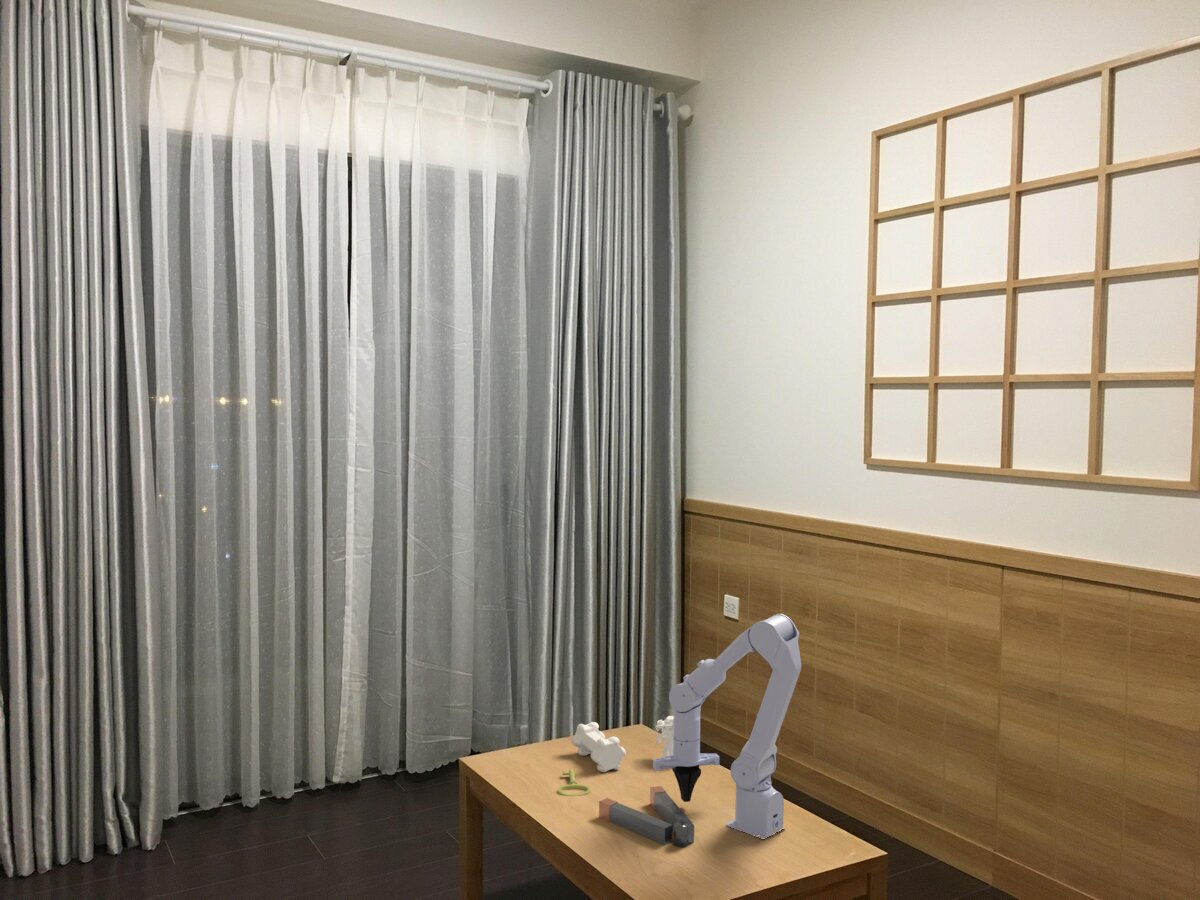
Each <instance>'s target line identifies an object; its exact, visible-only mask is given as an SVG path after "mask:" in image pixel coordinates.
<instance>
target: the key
mask: <svg viewBox="0 0 1200 900" xmlns="http://www.w3.org/2000/svg"><path fill="white" fill-rule="evenodd" d="M562 776H569V782H568V784H564V785H560V786H559V787H558V788H557V794H559V795H560V796H564V797H582V796H586V795H589V794H590V793H591V788H590V787H589V786H588V785H585V784H578V782H577V781H576V777H575V770H574V769H573V768H570V769H569V770H568V771H567V770H562ZM576 789H577V790H585V791H584V792H580V793H567V792H564V791H566V790H576Z"/></svg>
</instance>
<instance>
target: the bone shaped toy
mask: <svg viewBox="0 0 1200 900" xmlns="http://www.w3.org/2000/svg"><path fill="white" fill-rule="evenodd" d="M599 728H600V725H599V723H598V722H595V721H592V722H589V723H588V724H583V723H579V724H578V725H577V727H576V731H575V734H574V736H573V737H571V739H570V740H571V743H572V745H573V746H575V747H576V748H578V749H577V753H578V755H579V756H582V757H585V756H587V755H589V754H590V758H591V761H592V762H594V763H597V765H596V768H597V770H598V771H599V772H600V773H606V772H608V771H611V770H613V771H618V770H619V769H620V768H621V763H622V760H623V758H624V757H625V756H626V755H627V752H626V749H625V748H624V747H623V746H620V739H619V738H618V737H617V736H610V737H608V738H606V736H605V734H604V733H603V732H602V731H600V730H599Z"/></svg>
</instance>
